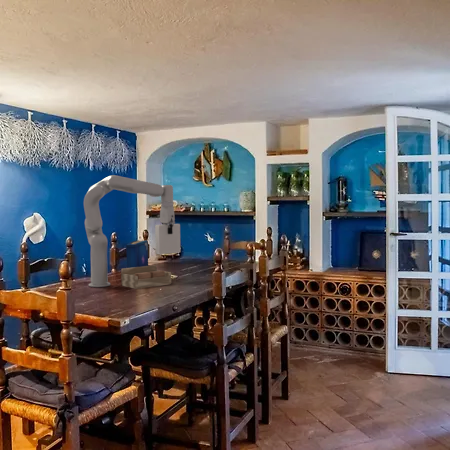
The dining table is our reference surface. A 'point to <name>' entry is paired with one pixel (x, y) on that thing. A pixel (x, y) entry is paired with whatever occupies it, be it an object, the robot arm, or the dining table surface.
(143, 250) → the book
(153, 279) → the rack
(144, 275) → the offcut
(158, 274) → the offcut
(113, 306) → the dining table surface
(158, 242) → the tall sheet
